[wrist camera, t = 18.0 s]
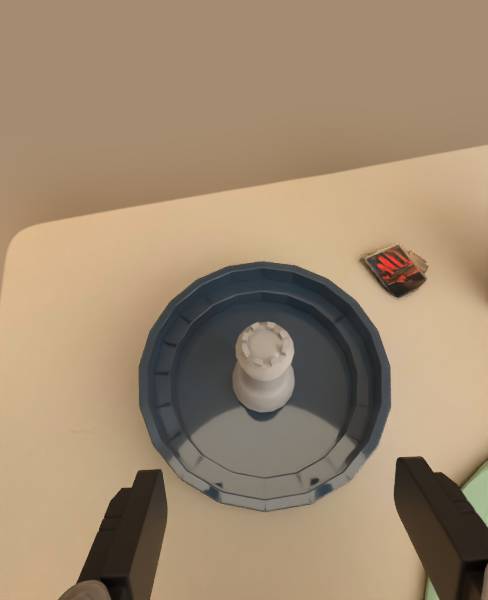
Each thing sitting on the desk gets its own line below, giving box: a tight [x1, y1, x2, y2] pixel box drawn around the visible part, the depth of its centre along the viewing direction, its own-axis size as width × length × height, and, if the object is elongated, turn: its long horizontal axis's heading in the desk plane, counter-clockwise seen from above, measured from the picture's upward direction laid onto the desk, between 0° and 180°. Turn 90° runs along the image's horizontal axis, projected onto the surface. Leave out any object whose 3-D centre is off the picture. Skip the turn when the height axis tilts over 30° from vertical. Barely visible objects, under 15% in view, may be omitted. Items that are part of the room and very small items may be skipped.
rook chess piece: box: [232, 321, 295, 412], centre depth 23 cm, size 4×4×8 cm
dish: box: [139, 262, 391, 512], centre depth 26 cm, size 16×16×4 cm
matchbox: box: [361, 243, 428, 297], centre depth 31 cm, size 5×5×1 cm
